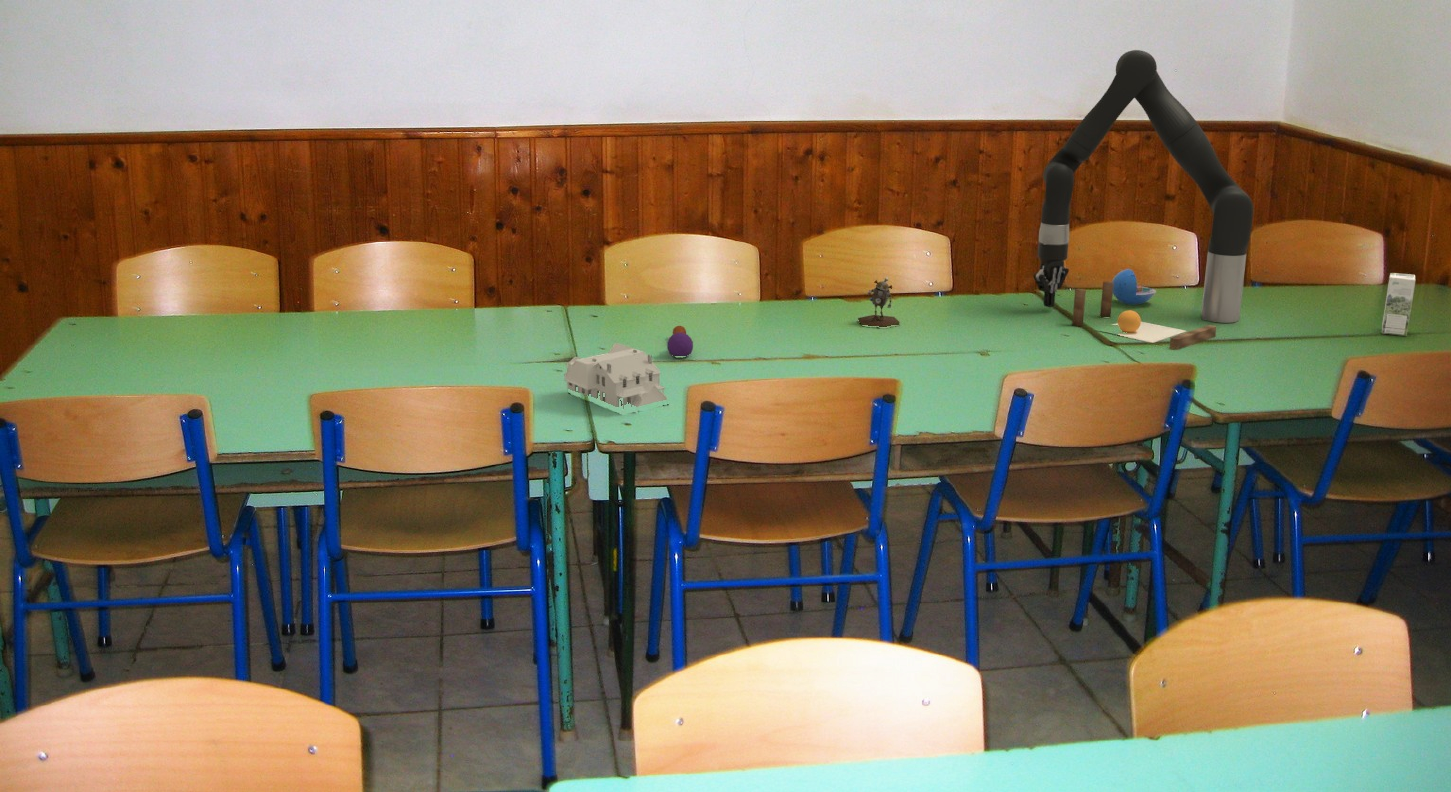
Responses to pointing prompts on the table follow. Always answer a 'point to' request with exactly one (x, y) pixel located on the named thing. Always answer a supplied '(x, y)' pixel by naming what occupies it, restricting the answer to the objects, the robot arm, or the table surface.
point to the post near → (1079, 307)
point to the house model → (617, 377)
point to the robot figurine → (880, 299)
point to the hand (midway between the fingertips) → (1048, 306)
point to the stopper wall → (1192, 337)
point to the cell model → (1130, 289)
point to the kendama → (679, 342)
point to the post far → (1106, 299)
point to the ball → (1129, 321)
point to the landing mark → (1152, 332)
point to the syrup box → (1398, 304)
